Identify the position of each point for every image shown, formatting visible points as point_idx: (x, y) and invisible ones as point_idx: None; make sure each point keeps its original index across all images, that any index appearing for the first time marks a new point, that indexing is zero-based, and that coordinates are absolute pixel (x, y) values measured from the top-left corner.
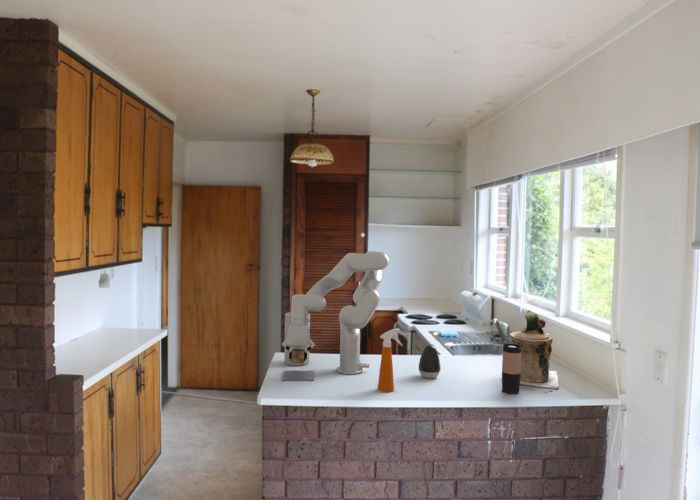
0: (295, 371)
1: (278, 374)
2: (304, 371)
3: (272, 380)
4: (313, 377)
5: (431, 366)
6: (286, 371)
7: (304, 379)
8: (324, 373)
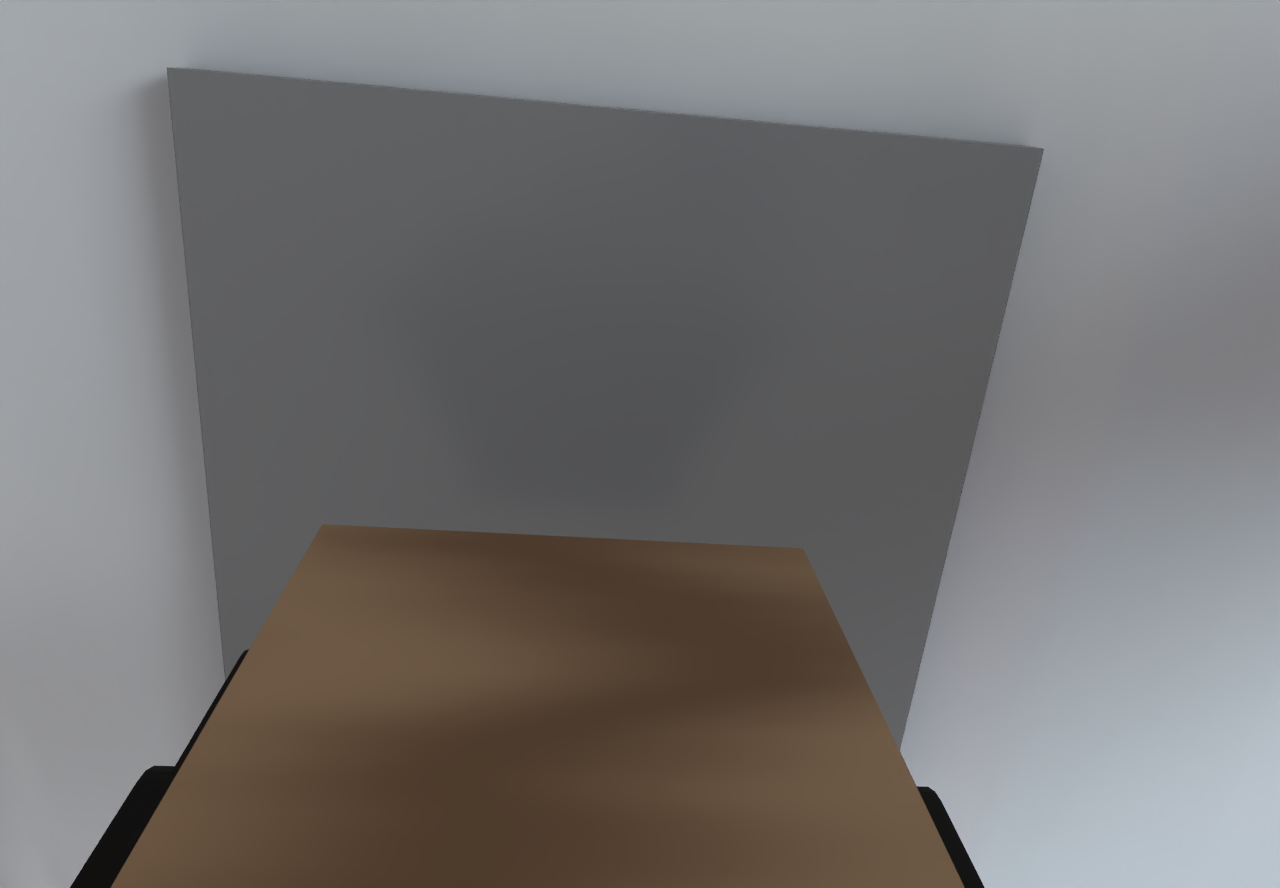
0: (506, 186)
1: (60, 313)
2: (763, 203)
3: (33, 741)
4: (909, 694)
5: None
6: (241, 168)
7: None
8: (1257, 291)
